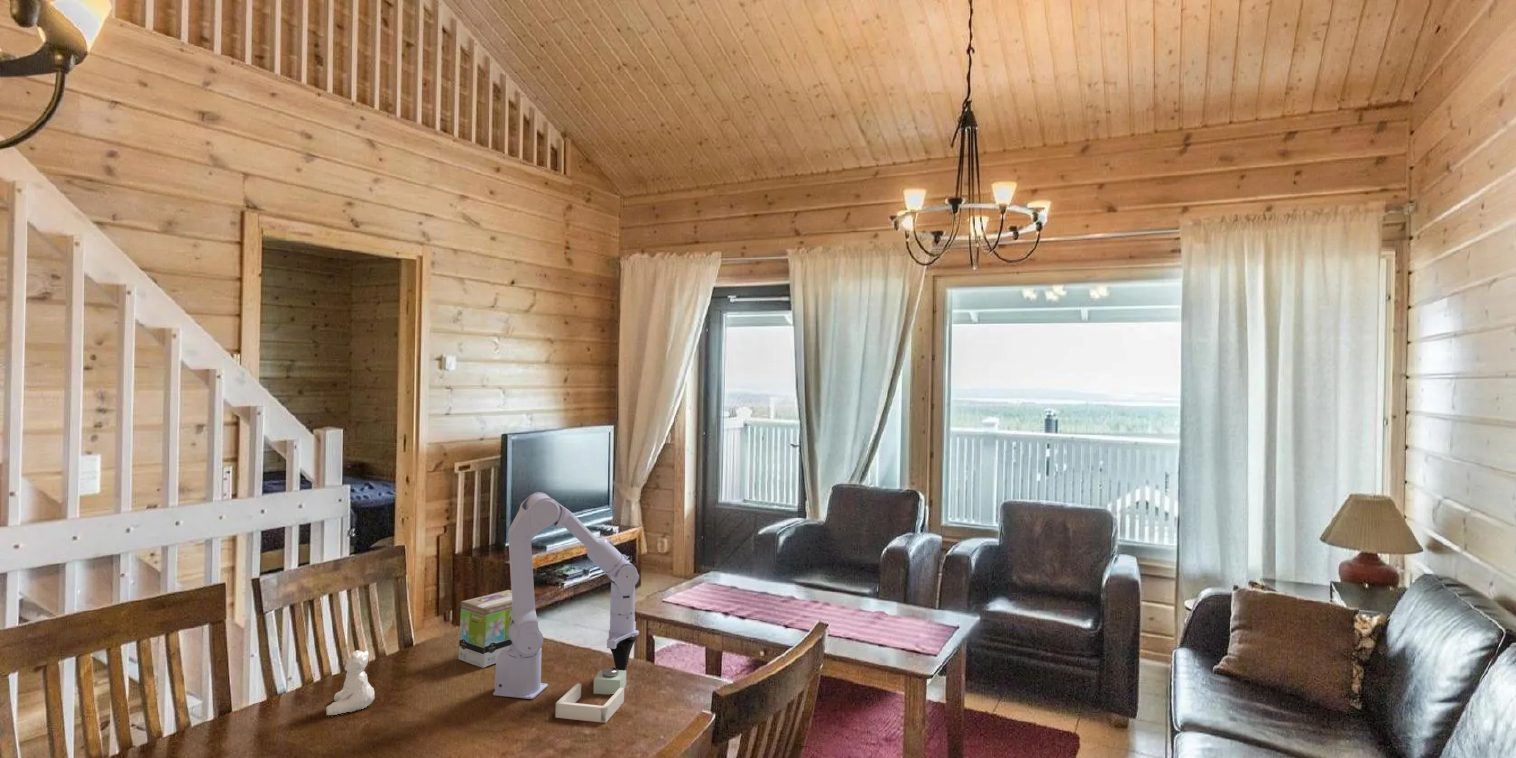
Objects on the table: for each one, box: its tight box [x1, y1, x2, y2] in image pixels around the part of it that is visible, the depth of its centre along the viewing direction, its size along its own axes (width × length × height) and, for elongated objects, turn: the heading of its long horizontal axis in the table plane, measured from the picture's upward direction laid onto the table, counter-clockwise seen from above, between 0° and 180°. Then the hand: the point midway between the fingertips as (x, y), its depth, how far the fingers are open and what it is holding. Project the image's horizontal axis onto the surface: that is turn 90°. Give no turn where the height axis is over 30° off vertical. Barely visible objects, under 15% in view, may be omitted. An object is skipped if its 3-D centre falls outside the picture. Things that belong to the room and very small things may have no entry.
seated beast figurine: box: [325, 649, 376, 716], centre depth 173 cm, size 10×9×12 cm
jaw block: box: [592, 666, 627, 695], centre depth 186 cm, size 6×6×4 cm
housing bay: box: [554, 683, 625, 724], centre depth 174 cm, size 11×11×3 cm
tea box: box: [458, 589, 513, 669], centre depth 205 cm, size 15×10×15 cm
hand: (621, 669), depth 193 cm, fingers closed
